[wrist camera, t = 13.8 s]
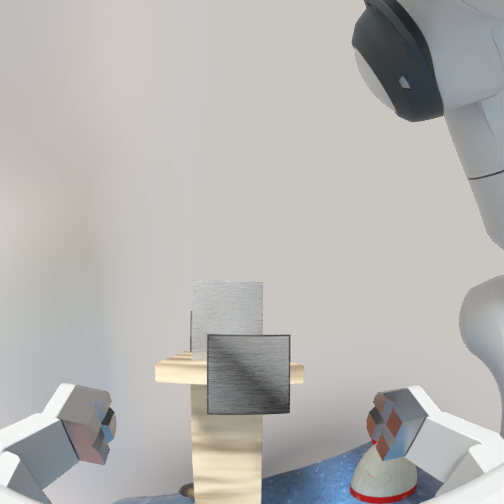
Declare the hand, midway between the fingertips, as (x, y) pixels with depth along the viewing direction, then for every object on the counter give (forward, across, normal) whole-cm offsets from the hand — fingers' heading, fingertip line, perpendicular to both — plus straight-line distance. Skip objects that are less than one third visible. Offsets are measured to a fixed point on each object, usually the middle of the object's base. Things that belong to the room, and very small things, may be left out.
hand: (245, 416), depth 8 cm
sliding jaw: (+12, 0, +7) cm, 14 cm away
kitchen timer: (+22, -31, +48) cm, 62 cm away
